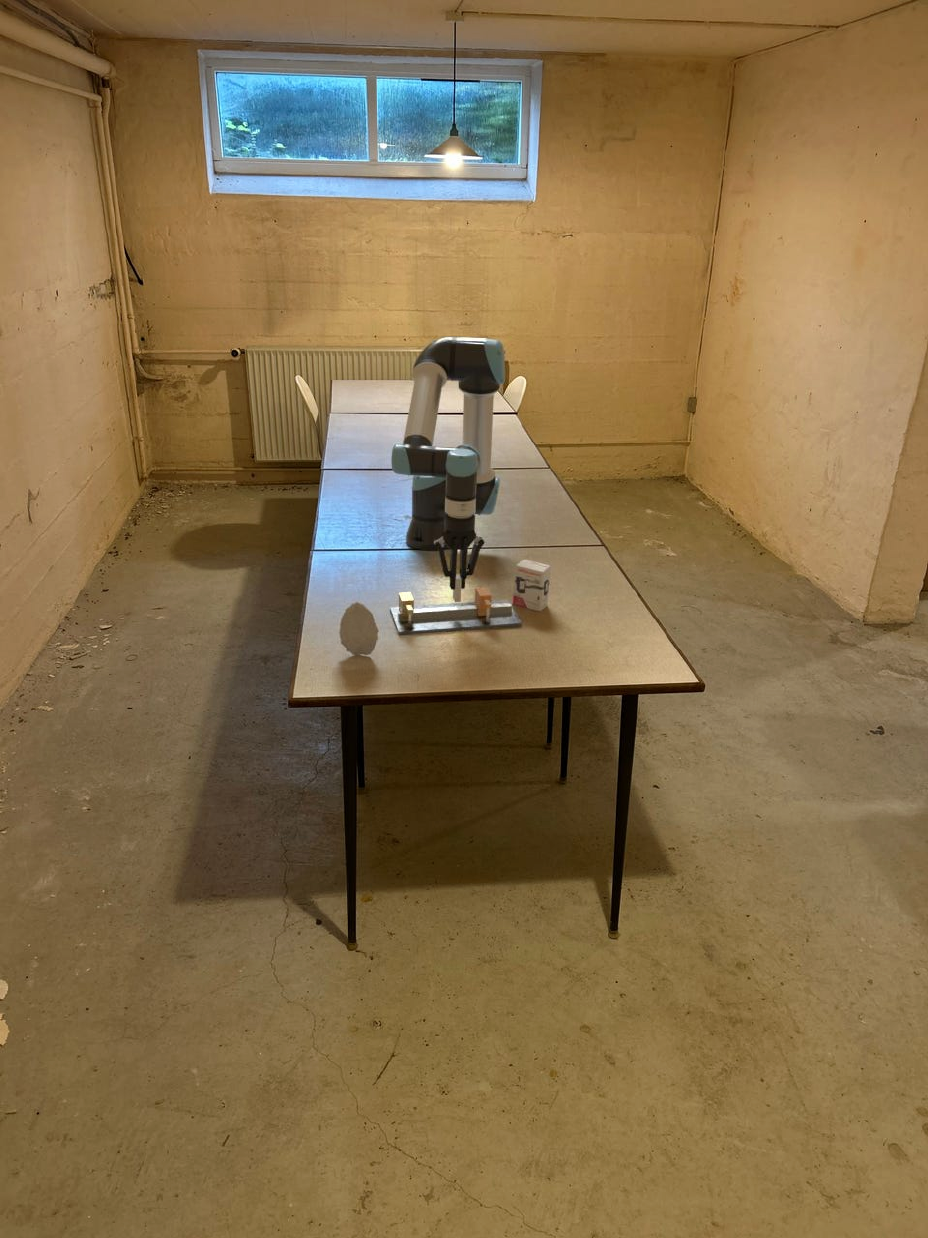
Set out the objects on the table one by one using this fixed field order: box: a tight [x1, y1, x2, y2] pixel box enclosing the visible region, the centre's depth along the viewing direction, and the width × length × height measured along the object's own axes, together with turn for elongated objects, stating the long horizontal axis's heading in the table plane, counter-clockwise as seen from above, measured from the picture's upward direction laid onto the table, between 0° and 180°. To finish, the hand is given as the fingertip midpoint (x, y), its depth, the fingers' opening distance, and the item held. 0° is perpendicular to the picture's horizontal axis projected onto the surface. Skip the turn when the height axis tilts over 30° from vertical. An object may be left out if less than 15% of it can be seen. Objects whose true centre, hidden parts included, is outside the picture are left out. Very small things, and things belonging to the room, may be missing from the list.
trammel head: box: [474, 586, 492, 622], centre depth 219 cm, size 9×3×6 cm, turn 13°
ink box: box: [512, 559, 552, 612], centre depth 228 cm, size 8×5×12 cm, turn 60°
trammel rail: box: [398, 591, 513, 628], centre depth 218 cm, size 9×30×6 cm, turn 103°
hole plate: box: [389, 599, 523, 636], centre depth 221 cm, size 14×32×1 cm, turn 103°
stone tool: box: [338, 601, 379, 656], centre depth 198 cm, size 9×3×15 cm, turn 93°
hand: (456, 599), depth 219 cm, fingers closed
